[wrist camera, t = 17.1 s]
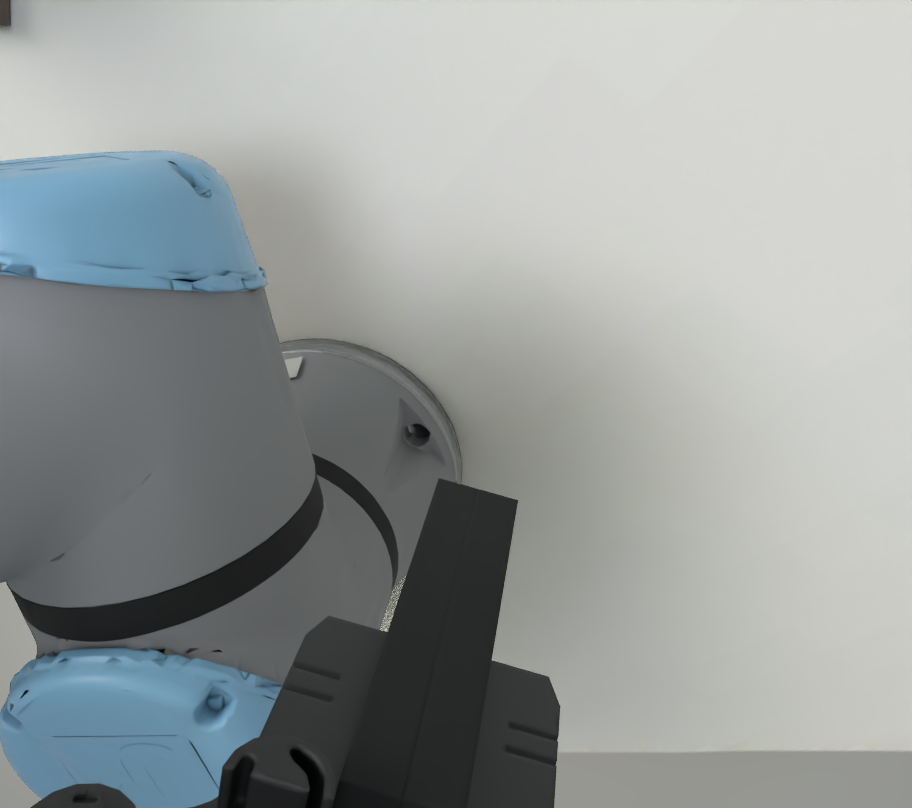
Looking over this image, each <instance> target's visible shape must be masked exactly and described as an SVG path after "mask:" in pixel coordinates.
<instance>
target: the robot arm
mask: <svg viewBox="0 0 912 808" xmlns="http://www.w3.org/2000/svg"><path fill="white" fill-rule="evenodd" d="M266 285H267V281H266V276H265V272H264V270H263V269H262V268H261V267H259V266H258V265H257V263H256V261H255V258H254V255H253V252H252V249H251V246H250V244H249V241H248V238H247V235H246V232H245V229H244V226H243V224H242V221H241V218H240V215H239V212H238V209H237V207H236V204H235V201H234V198H233V195H232V193H231V191H230V189H229V187H228V185H227V183H226V182H225V180H224V179H223V178H222V176H221V175H220V174H219V173H218V172H217V171H216V170H215V169H214V168H212V167H211V166H210V165H208V164H207V163H206V162H204V161H202V160H200V159H198V158H196V157H194V156H191V155H188V154H184V153H179V152H173V151H125V152H105V153H89V154H76V155H63V156H51V157H39V158H27V159H17V160H7V161H0V583H1V582H5V581H6V583H7V585H8V587H9V589H10V590H11V592H12V594H13V596H14V598H15V600H16V602H17V604H18V606H19V608H20V610H21V612H22V614H23V616H24V618H25V621H26V623H27V625H28V626H29V628H30V630H31V632H32V635H33V636H34V639H35V641H36V644H37V656H36V659H35V660H32V661H30V662H28V663H27V664H26V665H25V666H24V667H23V668H22V669H21V671H20V672H18V673H17V674H15V676H14V677H13V679H12V680H11V683H10V693H9V695H8V698H7V701H6V703H5V704H4V706H3V708H2V709H1V712H0V741H1V744H2V747H3V751H4V753H5V756H6V757H7V759H8V761H9V762H10V764H11V766H12V767H13V769H14V770H15V772H16V773H17V775H18V776H19V777H20V778H21V779H22V781H23V782H24V783H25V784H26V785H27V786H28V787H29V788H30V789H31V790H32V791H33V792H34V793H35V794H37V796H39V797H40V798H41V799H42V800H41V801H39V802H38V803H36V804H35V805H34V806H32V807H31V808H554V798H555V780H556V761H557V749H558V742H557V739H558V733H559V717H560V705H559V702H558V700H557V697H556V694H555V692H554V689H553V687H552V684H551V682H550V679H549V677H547V676H544V675H540V674H537V673H533V672H530V671H527V670H523V669H520V668H516V667H513V666H509V665H506V664H502V663H499V662H495V661H492V654H493V648H494V642H495V636H496V630H497V624H498V618H499V612H500V605H501V599H502V593H503V587H504V581H505V575H506V569H507V563H508V557H509V551H510V545H511V539H512V533H513V527H514V521H515V515H516V509H517V503H518V500H515V499H511V498H508V497H504V496H501V495H497V494H494V493H490V492H487V491H483V490H479V489H476V488H472V487H469V486H465V485H462V484H461V475H462V469H461V456H460V450H459V445H458V441H457V438H456V435H455V432H454V430H453V427H452V425H451V423H450V421H449V419H448V417H447V415H446V413H445V412H444V410H443V408H442V407H441V405H440V404H439V403H438V401H437V400H436V398H435V397H434V396H433V395H432V393H431V392H430V391H429V390H428V389H427V388H426V387H425V386H424V385H423V384H422V383H421V382H420V381H419V380H418V379H417V378H416V377H415V376H413V375H412V374H411V373H410V372H408V371H407V370H406V369H405V368H403V367H402V366H400V365H398V364H397V363H395V362H394V361H392V360H390V359H389V358H387V357H385V356H383V355H381V354H379V353H377V352H374V351H372V350H370V349H367V348H364V347H361V346H358V345H355V344H351V343H347V342H342V341H336V340H329V339H301V340H294V341H288V342H284V343H279V340H278V336H277V333H276V329H275V326H274V323H273V319H272V315H271V312H270V308H269V304H268V300H267V297H266V293H265V289H264V286H266ZM406 575H407V576H406ZM405 576H406V579H405V582H404V585H403V588H402V591H401V594H400V597H399V600H398V603H397V606H396V609H395V612H394V615H393V618H392V621H391V624H390V627H389V630H388V632H384V631H381V630H379V629H380V626H381V623H382V620H383V617H384V614H385V611H386V608H387V605H388V602H389V599H390V596H391V593H392V590H393V588H394V587H395V586H396V585H397V584H398V583H399V582H400V581H401V580H402V579H403V578H404V577H405Z"/></svg>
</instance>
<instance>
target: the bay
mask: <svg viewBox="0 0 912 808" xmlns="http://www.w3.org/2000/svg"><path fill="white" fill-rule="evenodd" d="M4 25H10V0H0V26H4Z"/></svg>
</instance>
